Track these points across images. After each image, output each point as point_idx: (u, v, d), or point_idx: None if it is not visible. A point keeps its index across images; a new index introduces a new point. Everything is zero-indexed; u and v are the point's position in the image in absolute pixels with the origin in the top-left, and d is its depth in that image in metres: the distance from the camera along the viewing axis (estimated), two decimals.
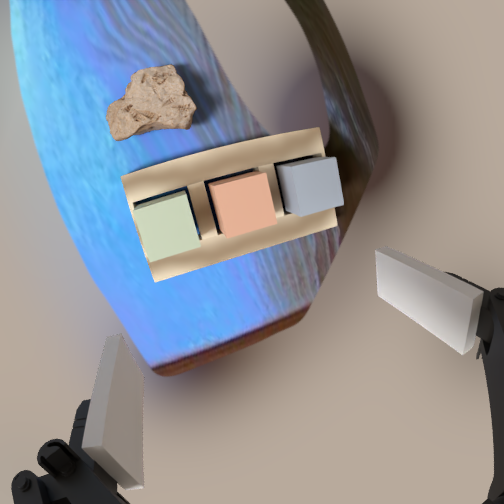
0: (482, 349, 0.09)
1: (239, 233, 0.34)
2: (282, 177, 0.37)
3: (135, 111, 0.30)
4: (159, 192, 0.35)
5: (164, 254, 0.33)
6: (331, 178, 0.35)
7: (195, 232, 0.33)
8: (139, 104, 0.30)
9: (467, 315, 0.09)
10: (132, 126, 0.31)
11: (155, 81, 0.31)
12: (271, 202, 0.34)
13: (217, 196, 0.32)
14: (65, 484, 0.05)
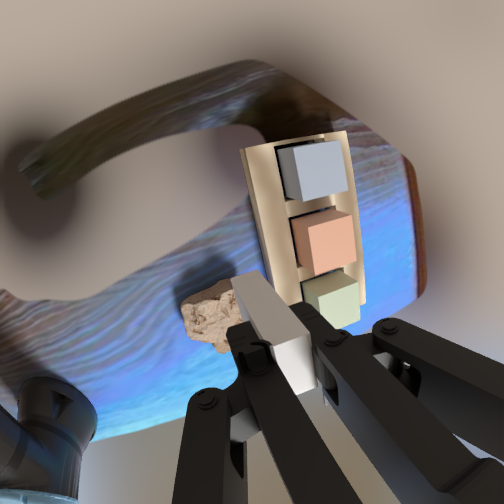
0: (329, 399, 0.10)
1: (354, 250, 0.37)
2: None
3: None
4: None
5: (357, 309, 0.39)
6: (314, 154, 0.32)
7: (347, 287, 0.38)
8: (225, 334, 0.39)
9: None
10: None
11: (201, 322, 0.38)
12: (333, 221, 0.35)
13: (323, 271, 0.36)
14: (251, 383, 0.08)
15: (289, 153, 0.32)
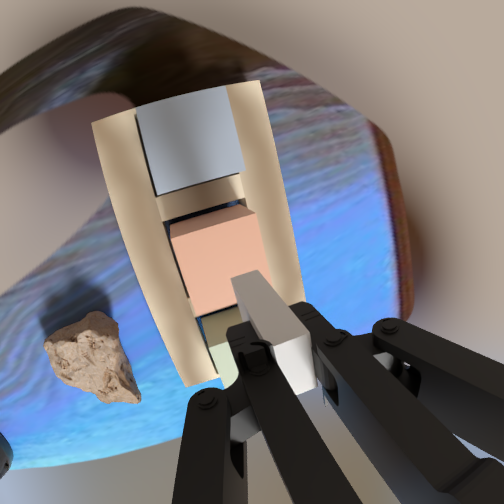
0: (329, 399, 0.10)
1: (267, 273, 0.22)
2: None
3: (106, 388, 0.25)
4: (204, 348, 0.28)
5: None
6: (175, 113, 0.18)
7: None
8: (96, 384, 0.25)
9: None
10: (123, 392, 0.25)
11: (66, 366, 0.24)
12: (220, 225, 0.20)
13: (211, 309, 0.22)
14: (251, 383, 0.08)
15: None
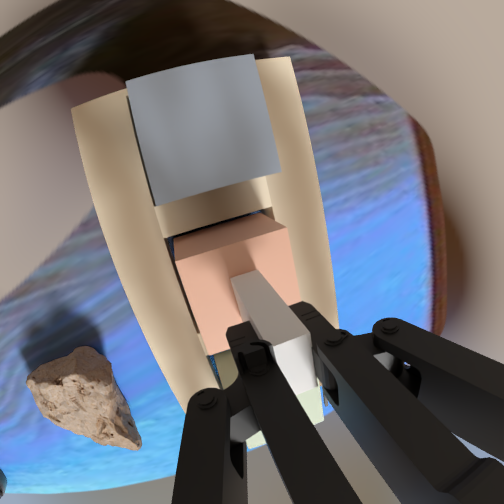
0: (329, 399, 0.10)
1: None
2: None
3: (100, 434, 0.20)
4: None
5: (316, 408, 0.19)
6: (182, 88, 0.12)
7: None
8: (89, 429, 0.19)
9: None
10: (121, 440, 0.20)
11: (53, 407, 0.19)
12: (241, 244, 0.16)
13: (227, 347, 0.17)
14: (251, 383, 0.08)
15: None
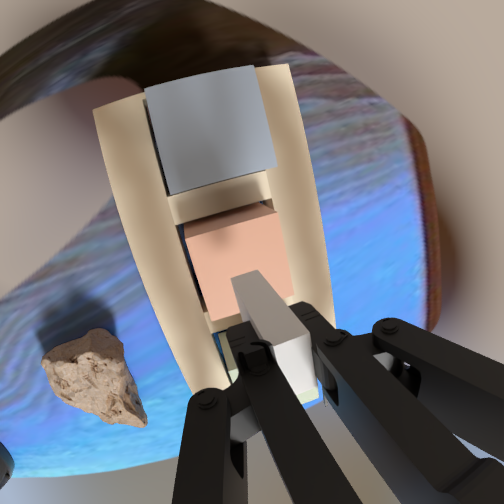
0: (329, 399, 0.10)
1: (288, 276, 0.21)
2: None
3: (109, 411, 0.22)
4: (220, 366, 0.25)
5: None
6: (193, 95, 0.14)
7: None
8: (99, 407, 0.22)
9: None
10: (128, 417, 0.23)
11: (66, 386, 0.21)
12: (239, 225, 0.19)
13: (227, 314, 0.20)
14: (251, 383, 0.08)
15: None
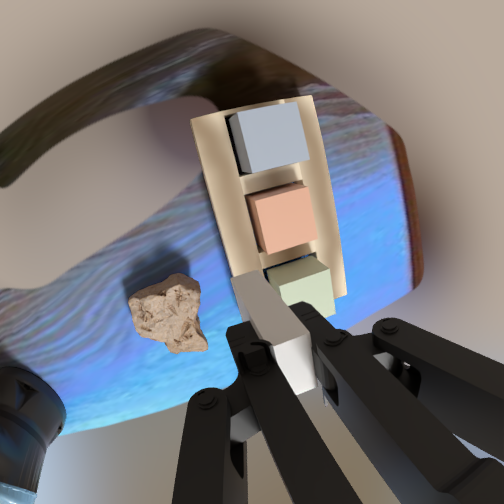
0: (329, 399, 0.10)
1: (314, 226, 0.33)
2: None
3: (182, 337, 0.35)
4: None
5: (330, 301, 0.34)
6: (264, 118, 0.27)
7: (316, 275, 0.33)
8: (174, 333, 0.35)
9: None
10: (197, 340, 0.35)
11: (149, 318, 0.34)
12: (286, 193, 0.31)
13: (277, 250, 0.33)
14: (251, 383, 0.08)
15: (236, 119, 0.27)
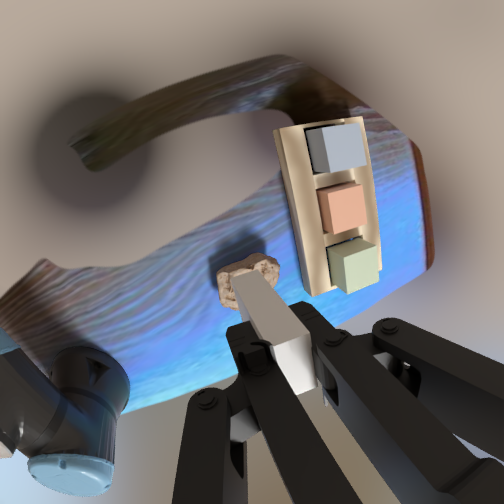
0: (329, 399, 0.10)
1: (365, 214, 0.43)
2: None
3: None
4: (327, 267, 0.47)
5: (376, 271, 0.44)
6: (339, 133, 0.37)
7: (367, 249, 0.43)
8: None
9: None
10: None
11: None
12: (348, 189, 0.41)
13: (340, 231, 0.43)
14: (251, 383, 0.08)
15: (318, 132, 0.37)
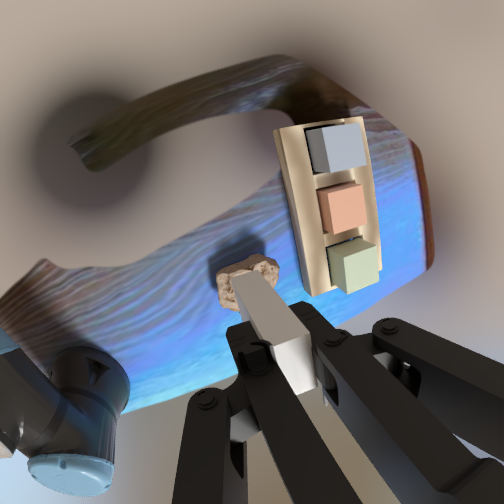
0: (329, 399, 0.10)
1: (365, 214, 0.43)
2: None
3: None
4: (327, 267, 0.47)
5: (376, 271, 0.44)
6: (339, 133, 0.37)
7: (367, 249, 0.43)
8: None
9: None
10: None
11: None
12: (348, 189, 0.41)
13: (340, 231, 0.43)
14: (251, 383, 0.08)
15: (318, 132, 0.37)
